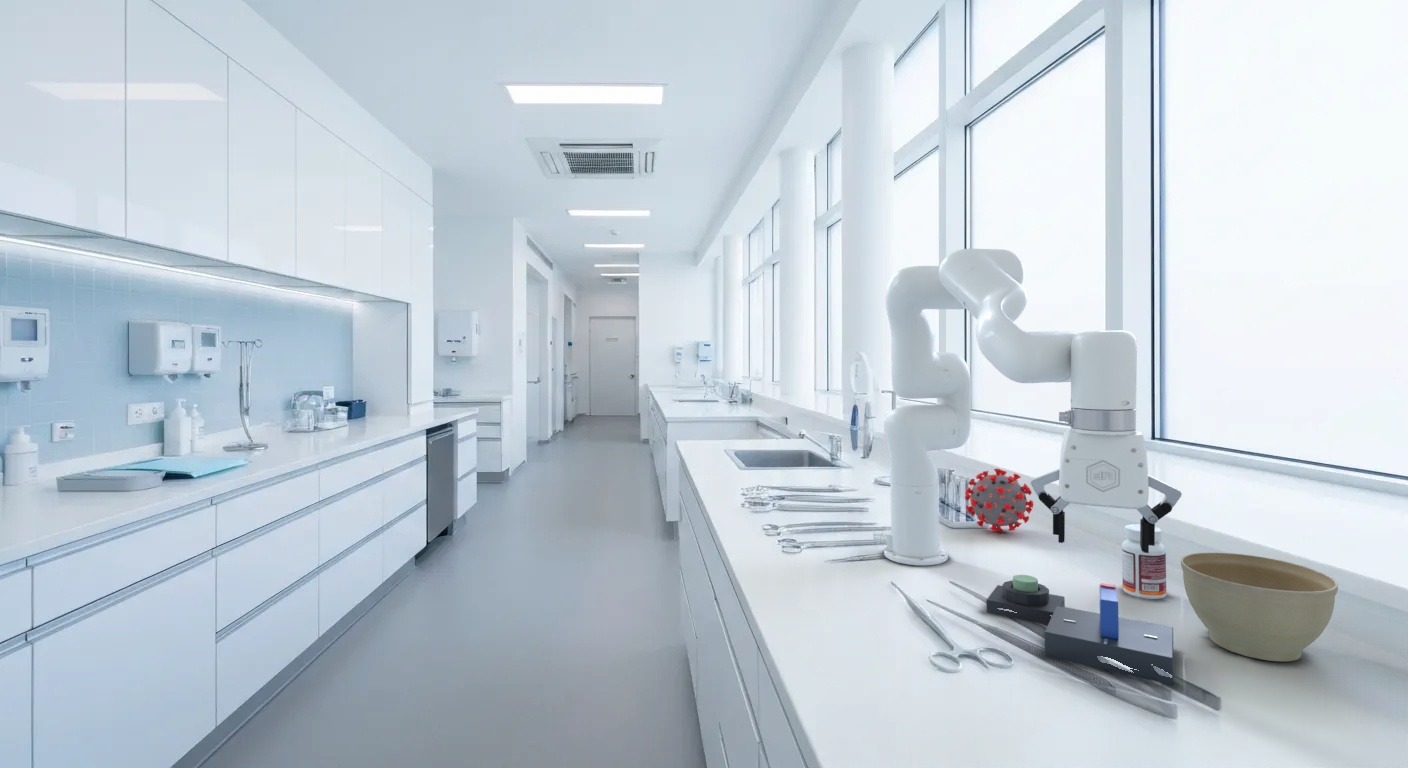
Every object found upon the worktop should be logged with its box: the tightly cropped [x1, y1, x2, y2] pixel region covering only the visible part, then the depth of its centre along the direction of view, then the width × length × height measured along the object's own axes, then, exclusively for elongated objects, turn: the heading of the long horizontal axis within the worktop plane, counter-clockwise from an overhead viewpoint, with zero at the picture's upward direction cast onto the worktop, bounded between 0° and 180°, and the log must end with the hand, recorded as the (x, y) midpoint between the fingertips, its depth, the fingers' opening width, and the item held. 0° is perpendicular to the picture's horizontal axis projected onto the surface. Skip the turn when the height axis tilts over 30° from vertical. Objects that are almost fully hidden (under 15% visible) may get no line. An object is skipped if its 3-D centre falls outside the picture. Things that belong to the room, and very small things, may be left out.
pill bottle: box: [1121, 523, 1167, 600], centre depth 106 cm, size 6×6×11 cm
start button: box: [1012, 574, 1039, 592], centre depth 100 cm, size 4×4×2 cm
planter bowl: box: [1180, 551, 1339, 662], centre depth 86 cm, size 16×16×11 cm
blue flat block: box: [1098, 582, 1119, 639], centre depth 85 cm, size 6×2×5 cm, turn 148°
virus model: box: [964, 468, 1034, 533], centre depth 147 cm, size 14×15×15 cm
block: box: [985, 579, 1066, 626], centre depth 100 cm, size 10×8×4 cm
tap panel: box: [1044, 606, 1174, 686], centre depth 85 cm, size 14×11×4 cm
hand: (1101, 545), depth 86 cm, fingers open, 9 cm apart
